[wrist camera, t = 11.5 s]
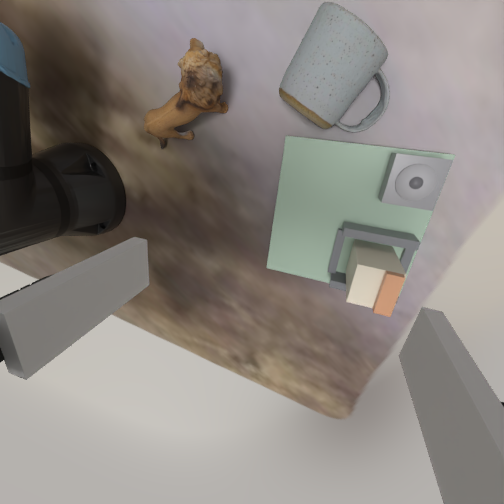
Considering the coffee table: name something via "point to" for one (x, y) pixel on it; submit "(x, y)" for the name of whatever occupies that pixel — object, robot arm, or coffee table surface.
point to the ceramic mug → (335, 68)
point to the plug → (374, 277)
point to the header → (372, 235)
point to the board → (334, 203)
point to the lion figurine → (189, 94)
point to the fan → (414, 181)
